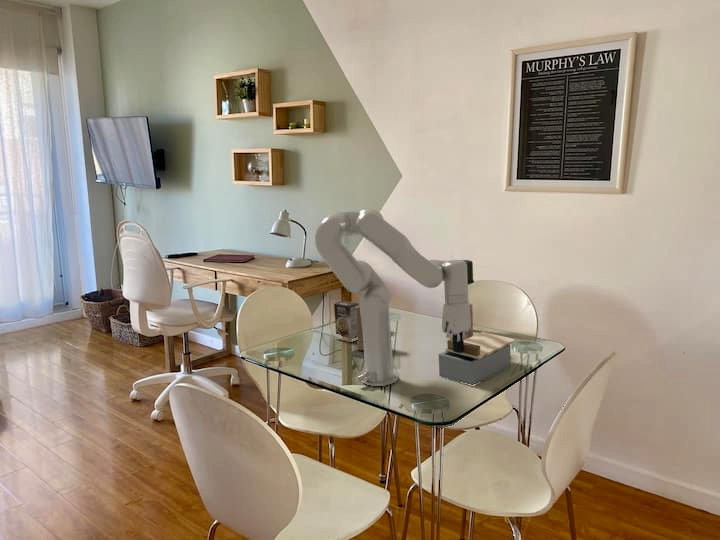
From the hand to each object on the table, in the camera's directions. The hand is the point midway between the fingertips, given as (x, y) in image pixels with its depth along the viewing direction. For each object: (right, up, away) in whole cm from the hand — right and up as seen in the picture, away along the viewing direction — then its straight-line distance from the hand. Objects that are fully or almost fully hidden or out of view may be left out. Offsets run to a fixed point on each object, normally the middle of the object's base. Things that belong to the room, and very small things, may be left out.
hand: (458, 351), depth 179 cm
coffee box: (-38, -3, +52) cm, 64 cm away
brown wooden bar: (+8, -4, +31) cm, 32 cm away
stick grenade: (+13, +1, +54) cm, 56 cm away
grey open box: (+7, -8, +8) cm, 14 cm away
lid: (+9, +1, +9) cm, 13 cm away
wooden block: (-28, -5, +38) cm, 47 cm away
